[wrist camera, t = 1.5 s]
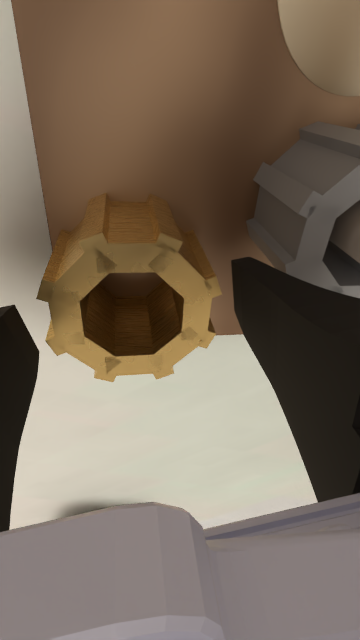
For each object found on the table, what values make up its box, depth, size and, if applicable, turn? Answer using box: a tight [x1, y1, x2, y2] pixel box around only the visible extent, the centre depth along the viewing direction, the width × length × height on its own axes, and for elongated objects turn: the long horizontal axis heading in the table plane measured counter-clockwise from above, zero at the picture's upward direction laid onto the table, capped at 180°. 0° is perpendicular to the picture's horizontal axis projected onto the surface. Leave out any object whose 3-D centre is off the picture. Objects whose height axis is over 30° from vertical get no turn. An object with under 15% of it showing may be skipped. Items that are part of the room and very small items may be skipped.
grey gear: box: [246, 121, 360, 298], centre depth 12 cm, size 6×6×4 cm
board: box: [11, 0, 360, 335], centre depth 10 cm, size 16×20×6 cm
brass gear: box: [36, 192, 222, 382], centre depth 12 cm, size 6×6×4 cm
